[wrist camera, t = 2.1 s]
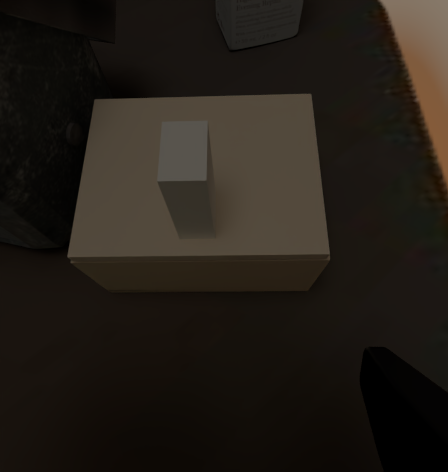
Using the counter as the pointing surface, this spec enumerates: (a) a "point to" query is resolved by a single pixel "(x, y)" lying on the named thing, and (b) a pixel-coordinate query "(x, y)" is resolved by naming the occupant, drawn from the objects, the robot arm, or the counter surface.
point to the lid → (201, 180)
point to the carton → (204, 275)
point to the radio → (47, 112)
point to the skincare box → (257, 21)
